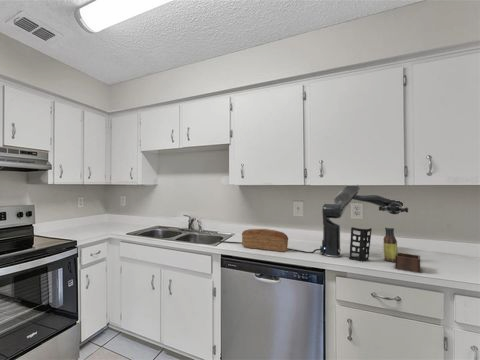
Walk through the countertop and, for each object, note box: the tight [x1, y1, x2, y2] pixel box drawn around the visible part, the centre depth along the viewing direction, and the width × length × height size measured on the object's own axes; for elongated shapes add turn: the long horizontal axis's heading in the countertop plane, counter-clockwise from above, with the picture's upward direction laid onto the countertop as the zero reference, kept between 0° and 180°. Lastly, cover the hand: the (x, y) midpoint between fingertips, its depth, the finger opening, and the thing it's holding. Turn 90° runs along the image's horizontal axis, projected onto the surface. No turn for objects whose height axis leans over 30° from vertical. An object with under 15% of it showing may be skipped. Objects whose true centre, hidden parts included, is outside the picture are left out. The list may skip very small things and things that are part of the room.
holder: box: [348, 226, 373, 262], centre depth 160 cm, size 11×8×20 cm
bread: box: [241, 228, 289, 252], centre depth 187 cm, size 12×31×14 cm, turn 61°
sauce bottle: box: [382, 226, 398, 263], centre depth 159 cm, size 7×6×20 cm
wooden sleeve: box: [394, 251, 421, 274], centre depth 145 cm, size 10×11×7 cm
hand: (392, 209), depth 167 cm, fingers open, 8 cm apart
